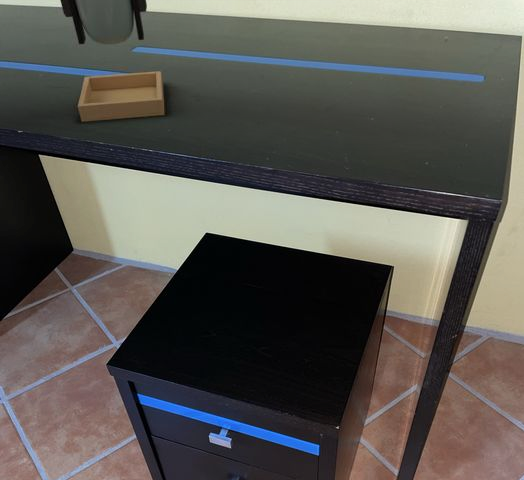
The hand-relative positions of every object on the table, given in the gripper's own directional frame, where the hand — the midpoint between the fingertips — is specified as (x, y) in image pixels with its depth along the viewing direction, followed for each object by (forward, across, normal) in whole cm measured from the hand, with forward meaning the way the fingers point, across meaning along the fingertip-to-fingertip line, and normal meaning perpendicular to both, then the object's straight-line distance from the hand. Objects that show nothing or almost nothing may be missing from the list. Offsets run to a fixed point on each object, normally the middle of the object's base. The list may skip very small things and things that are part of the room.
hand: (111, 39), depth 78 cm
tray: (+9, 0, 0) cm, 9 cm away
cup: (0, 0, 0) cm, 0 cm away
